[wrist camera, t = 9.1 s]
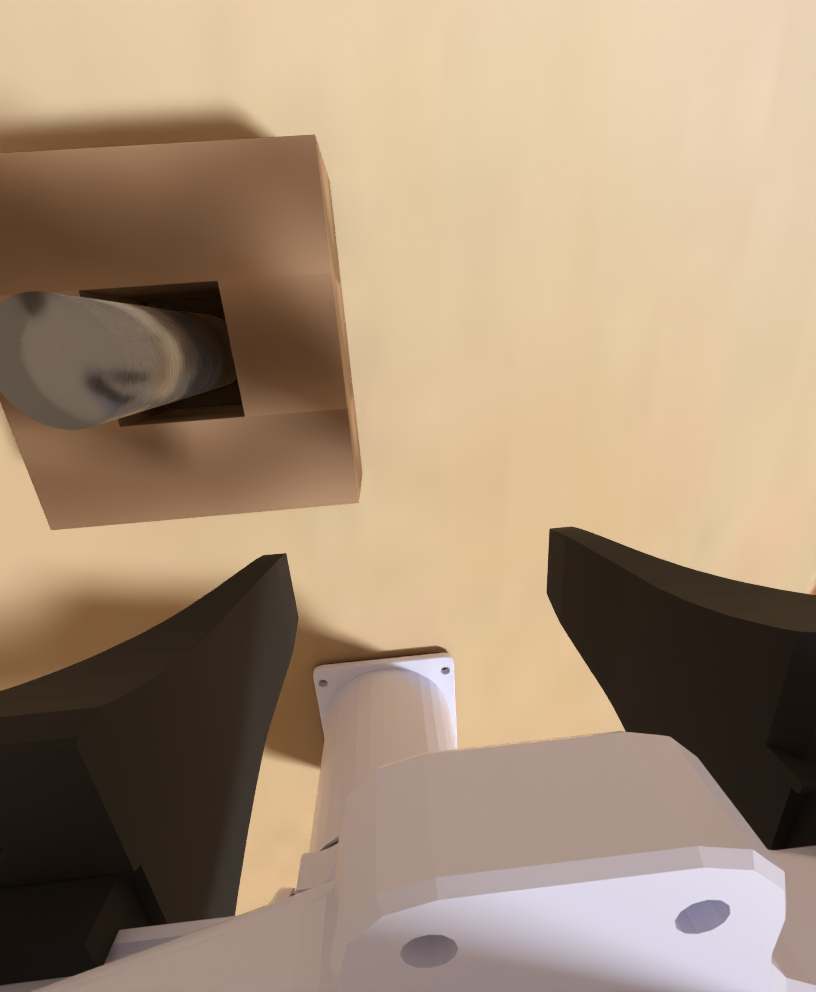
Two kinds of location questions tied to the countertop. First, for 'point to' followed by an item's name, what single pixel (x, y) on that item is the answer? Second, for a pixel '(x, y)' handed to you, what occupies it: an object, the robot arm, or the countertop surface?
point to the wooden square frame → (192, 273)
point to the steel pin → (105, 357)
